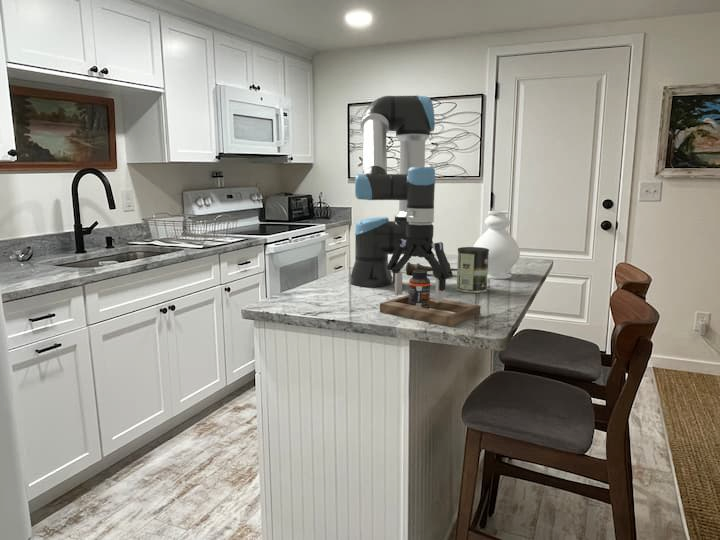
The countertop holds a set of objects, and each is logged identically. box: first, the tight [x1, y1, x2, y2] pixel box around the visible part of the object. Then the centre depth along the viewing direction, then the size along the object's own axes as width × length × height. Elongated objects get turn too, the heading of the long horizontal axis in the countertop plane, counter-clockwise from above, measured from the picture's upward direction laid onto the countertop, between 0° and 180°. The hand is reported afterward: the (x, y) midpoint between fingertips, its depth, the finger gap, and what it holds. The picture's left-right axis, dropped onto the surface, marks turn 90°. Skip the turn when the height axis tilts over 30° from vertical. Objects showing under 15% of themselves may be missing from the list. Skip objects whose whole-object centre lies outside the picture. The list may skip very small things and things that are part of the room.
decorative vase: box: [472, 210, 521, 280], centre depth 203 cm, size 18×18×25 cm
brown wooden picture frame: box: [379, 294, 482, 327], centre depth 148 cm, size 23×16×2 cm
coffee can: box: [456, 246, 489, 294], centre depth 178 cm, size 10×10×14 cm
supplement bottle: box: [408, 270, 431, 309], centre depth 149 cm, size 6×6×11 cm
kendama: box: [405, 260, 458, 279], centre depth 204 cm, size 6×10×20 cm
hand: (418, 298), depth 150 cm, fingers open, 13 cm apart
